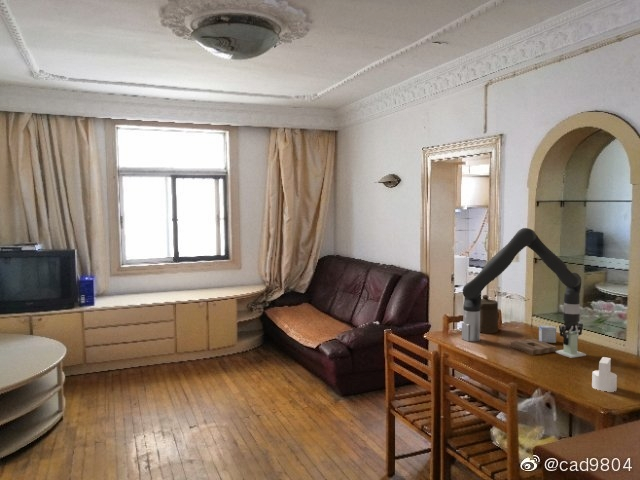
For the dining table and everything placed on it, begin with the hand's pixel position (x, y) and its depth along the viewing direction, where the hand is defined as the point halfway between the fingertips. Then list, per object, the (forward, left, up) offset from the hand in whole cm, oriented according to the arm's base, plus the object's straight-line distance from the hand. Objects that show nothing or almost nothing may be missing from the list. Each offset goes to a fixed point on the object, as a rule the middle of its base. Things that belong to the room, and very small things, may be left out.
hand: (570, 343), depth 247 cm
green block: (0, 0, -5) cm, 5 cm away
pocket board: (-11, +14, -5) cm, 19 cm away
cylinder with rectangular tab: (-24, -39, -6) cm, 46 cm away
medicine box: (+6, +21, -6) cm, 23 cm away
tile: (0, 0, -5) cm, 5 cm away
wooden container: (-10, +54, -6) cm, 55 cm away
